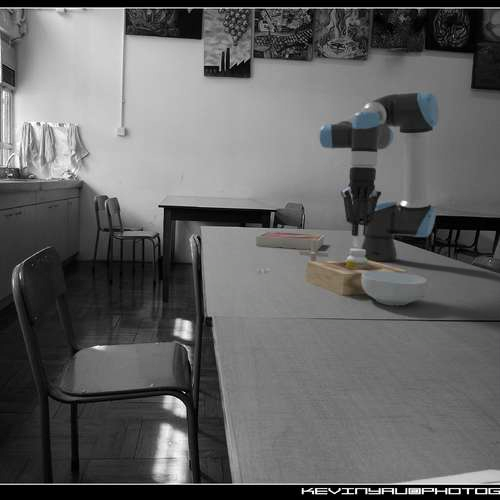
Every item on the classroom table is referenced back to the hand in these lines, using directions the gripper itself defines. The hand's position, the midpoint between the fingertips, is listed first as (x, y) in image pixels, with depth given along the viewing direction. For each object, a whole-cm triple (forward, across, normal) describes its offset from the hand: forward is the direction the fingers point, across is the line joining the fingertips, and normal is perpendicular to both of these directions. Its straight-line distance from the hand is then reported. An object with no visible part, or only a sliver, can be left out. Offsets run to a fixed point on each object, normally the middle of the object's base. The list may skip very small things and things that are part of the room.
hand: (357, 246), depth 154 cm
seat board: (+12, 0, 0) cm, 12 cm away
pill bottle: (+12, 0, 0) cm, 12 cm away
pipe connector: (+12, -3, -30) cm, 32 cm away
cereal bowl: (+12, +2, +20) cm, 24 cm away
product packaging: (+13, -23, -85) cm, 89 cm away
